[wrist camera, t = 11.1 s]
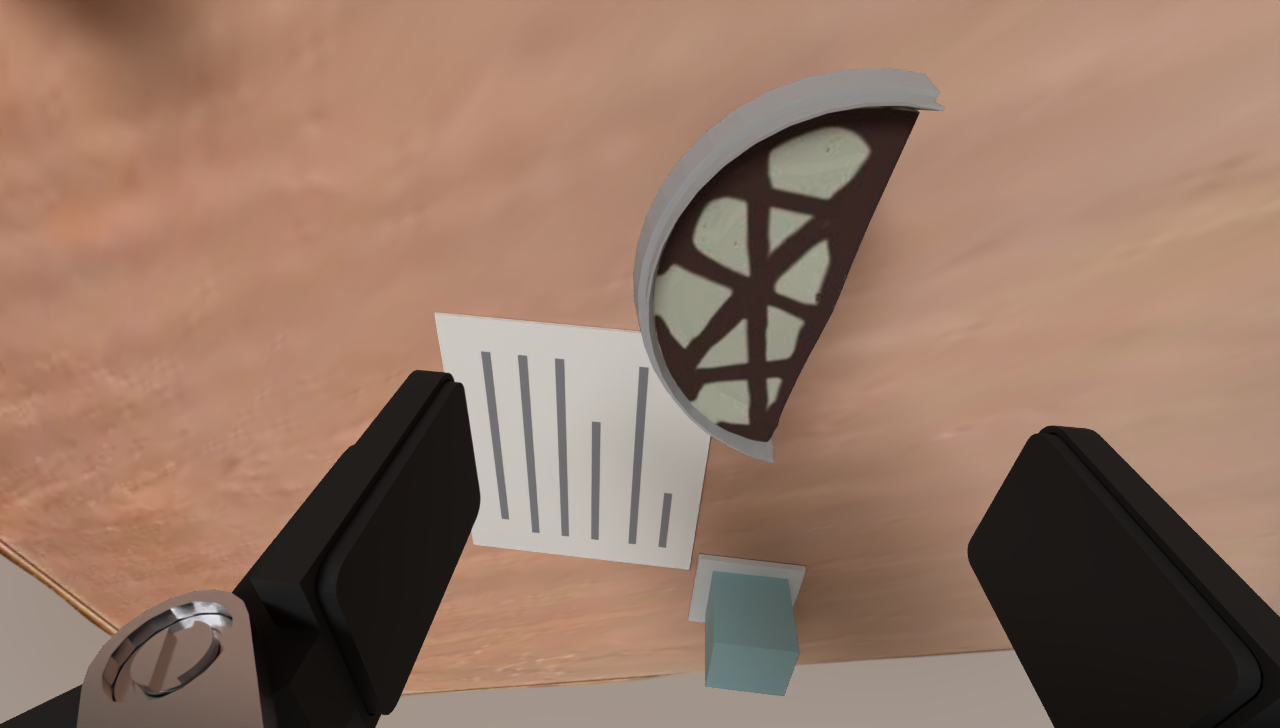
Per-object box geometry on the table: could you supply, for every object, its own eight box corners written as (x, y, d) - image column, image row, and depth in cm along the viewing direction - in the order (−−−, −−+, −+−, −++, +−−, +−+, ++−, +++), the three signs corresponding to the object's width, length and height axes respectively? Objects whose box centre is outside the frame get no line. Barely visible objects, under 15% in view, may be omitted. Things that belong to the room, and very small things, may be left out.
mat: (804, 566, 36) (805, 571, 35) (784, 627, 39) (784, 632, 39) (699, 553, 36) (699, 558, 36) (688, 615, 40) (688, 620, 40)
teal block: (788, 578, 36) (799, 652, 32) (775, 622, 39) (783, 696, 34) (712, 570, 36) (714, 642, 32) (705, 614, 39) (705, 686, 35)
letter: (725, 339, 27) (725, 341, 27) (689, 567, 37) (689, 569, 37) (436, 312, 28) (434, 314, 28) (474, 542, 38) (473, 544, 38)
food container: (693, 15, 20) (686, 10, 12) (852, 56, 20) (957, 81, 12) (628, 304, 27) (593, 434, 18) (747, 333, 27) (767, 474, 19)
